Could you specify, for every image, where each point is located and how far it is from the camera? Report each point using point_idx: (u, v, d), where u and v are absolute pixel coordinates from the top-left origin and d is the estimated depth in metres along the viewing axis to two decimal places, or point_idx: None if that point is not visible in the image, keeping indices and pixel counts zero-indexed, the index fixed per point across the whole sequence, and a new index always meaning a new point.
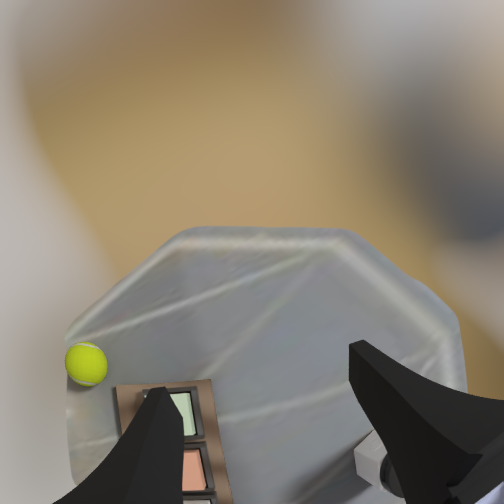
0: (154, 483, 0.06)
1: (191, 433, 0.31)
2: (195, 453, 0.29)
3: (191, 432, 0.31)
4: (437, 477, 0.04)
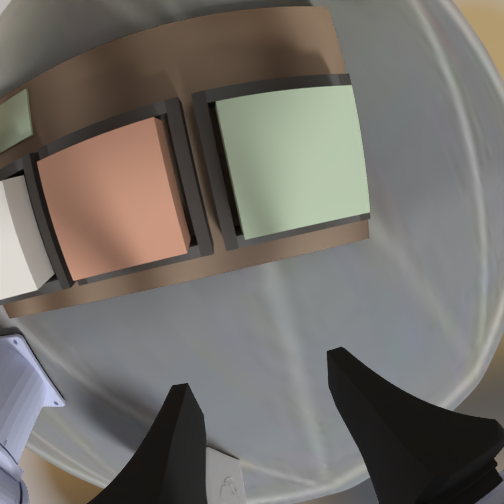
0: (182, 482, 0.06)
1: (249, 234, 0.12)
2: (182, 251, 0.12)
3: (253, 234, 0.12)
4: (407, 493, 0.04)
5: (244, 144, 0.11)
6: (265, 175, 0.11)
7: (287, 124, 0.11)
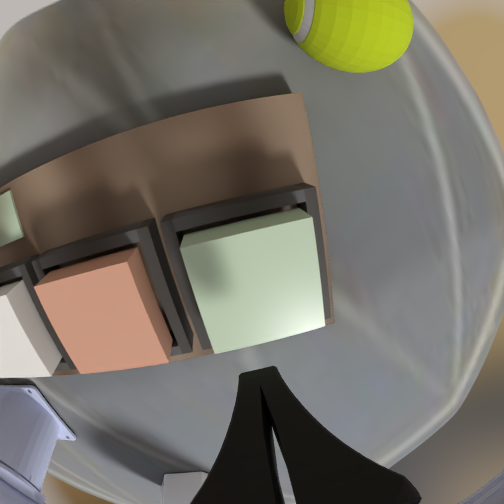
0: (274, 470, 0.06)
1: (218, 350, 0.14)
2: (165, 360, 0.14)
3: (221, 349, 0.14)
4: None
5: (208, 285, 0.13)
6: (228, 308, 0.13)
7: (246, 265, 0.12)
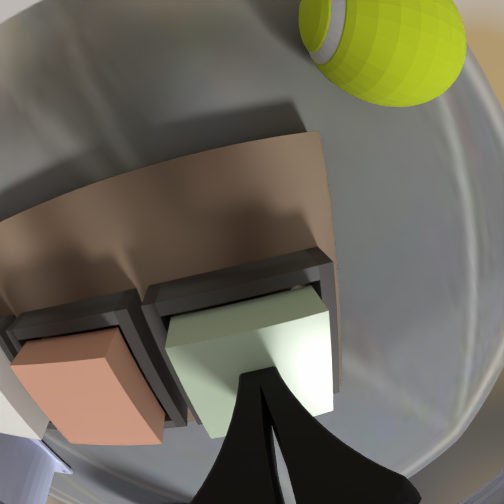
0: (273, 470, 0.06)
1: (215, 435, 0.11)
2: (158, 442, 0.11)
3: (218, 435, 0.11)
4: None
5: (201, 383, 0.10)
6: (225, 403, 0.10)
7: (246, 364, 0.10)
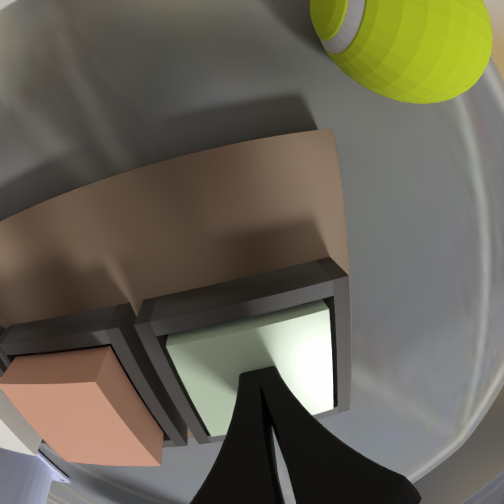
0: (274, 470, 0.06)
1: (215, 434, 0.11)
2: (156, 464, 0.10)
3: (218, 433, 0.11)
4: None
5: (201, 381, 0.10)
6: (226, 401, 0.10)
7: (247, 362, 0.10)
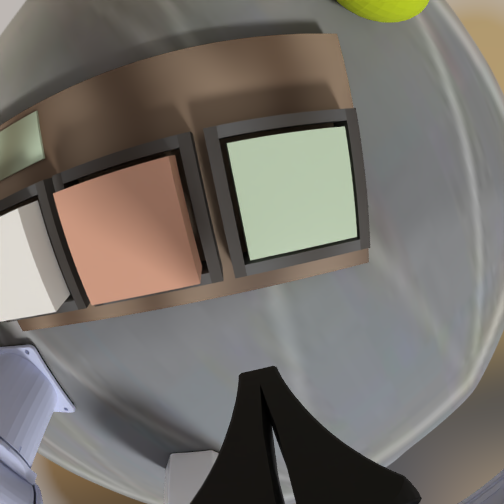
0: (273, 470, 0.06)
1: (254, 256, 0.14)
2: (196, 281, 0.13)
3: (257, 256, 0.14)
4: None
5: (250, 181, 0.13)
6: (268, 207, 0.14)
7: (287, 163, 0.13)
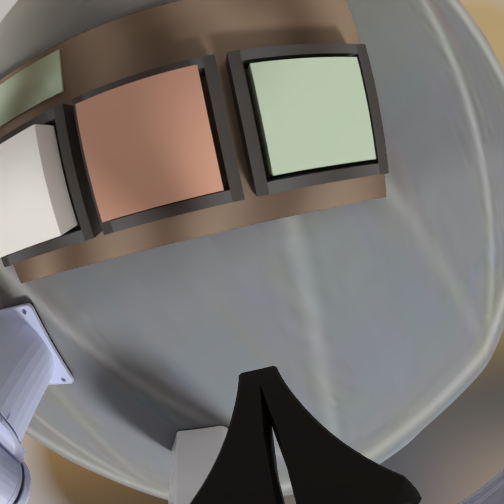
0: (274, 470, 0.06)
1: (277, 171, 0.14)
2: (219, 188, 0.12)
3: (279, 171, 0.14)
4: None
5: (272, 97, 0.12)
6: (290, 122, 0.13)
7: (307, 84, 0.12)
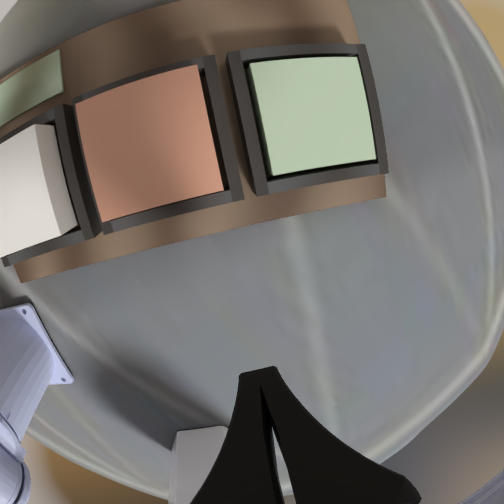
0: (274, 470, 0.06)
1: (277, 171, 0.14)
2: (219, 188, 0.12)
3: (279, 171, 0.14)
4: None
5: (272, 97, 0.12)
6: (290, 122, 0.13)
7: (307, 84, 0.12)
